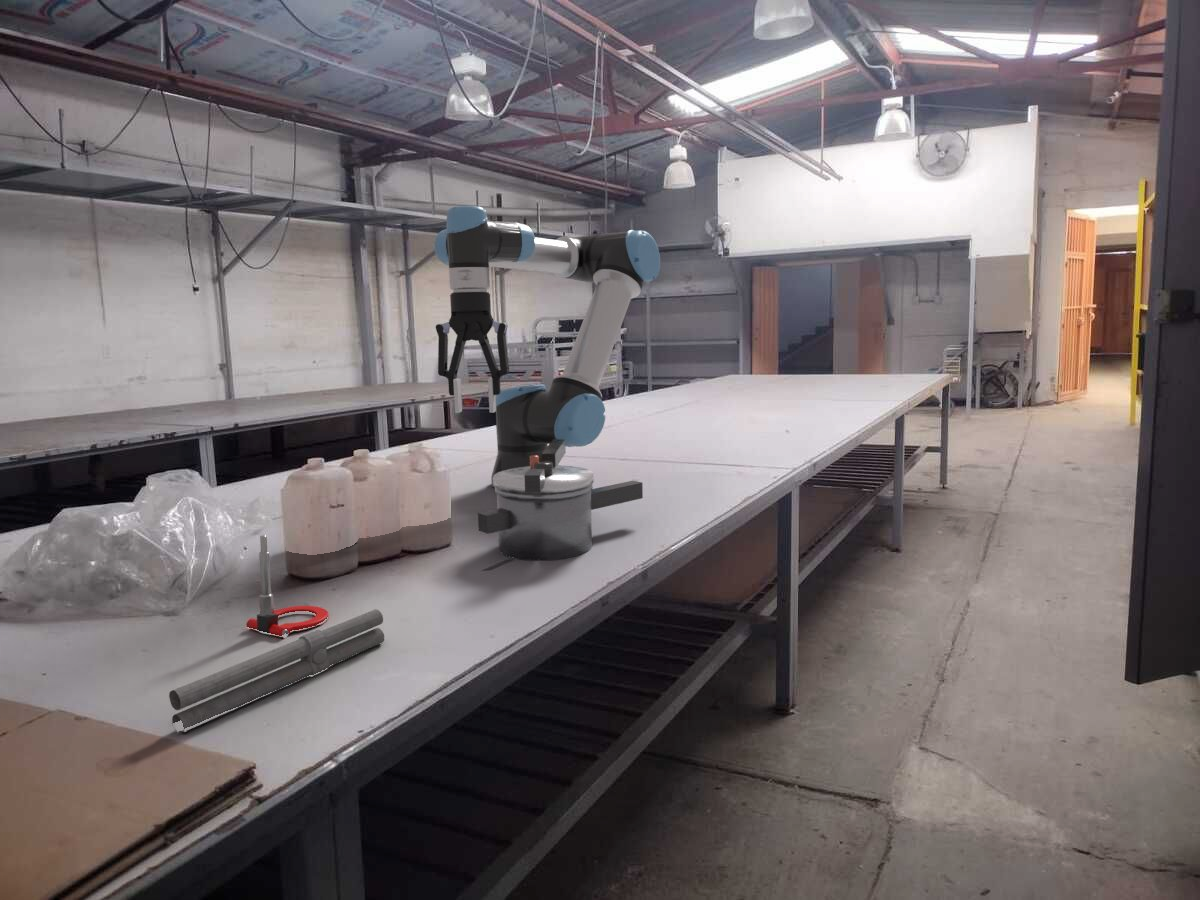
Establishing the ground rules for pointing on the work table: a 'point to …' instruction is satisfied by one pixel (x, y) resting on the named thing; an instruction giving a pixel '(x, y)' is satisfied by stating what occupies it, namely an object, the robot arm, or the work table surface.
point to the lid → (544, 474)
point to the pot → (551, 520)
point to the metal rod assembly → (304, 648)
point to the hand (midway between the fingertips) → (475, 411)
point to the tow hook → (268, 615)
